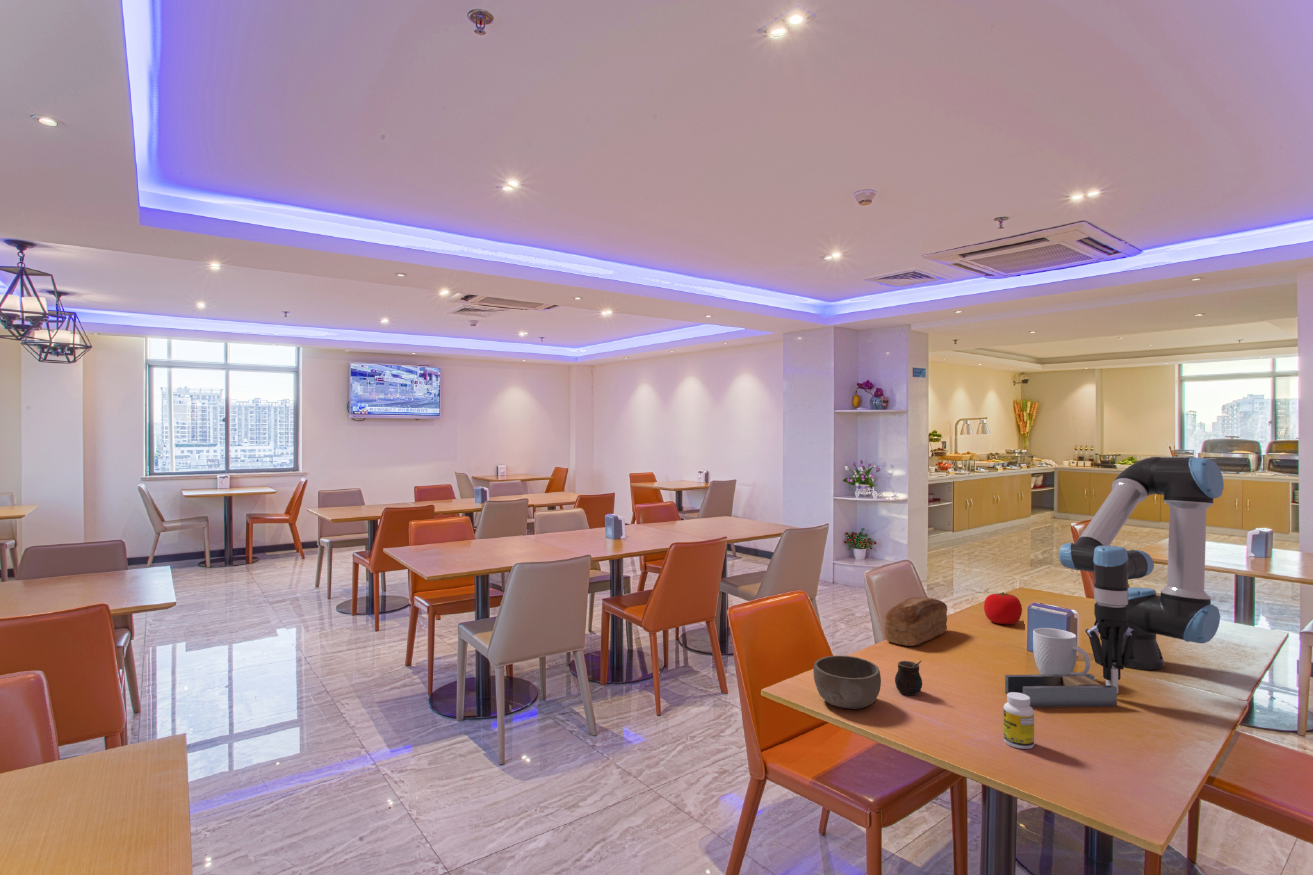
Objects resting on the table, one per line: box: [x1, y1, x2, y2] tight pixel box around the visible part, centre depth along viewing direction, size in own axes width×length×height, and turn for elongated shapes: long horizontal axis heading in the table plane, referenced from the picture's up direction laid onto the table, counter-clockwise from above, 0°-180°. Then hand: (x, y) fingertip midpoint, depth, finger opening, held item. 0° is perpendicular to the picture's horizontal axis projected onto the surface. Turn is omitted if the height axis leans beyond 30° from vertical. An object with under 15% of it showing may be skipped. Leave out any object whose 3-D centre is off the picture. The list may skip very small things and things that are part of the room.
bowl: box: [812, 655, 882, 710], centre depth 176 cm, size 17×18×10 cm
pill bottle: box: [1003, 692, 1035, 750], centre depth 151 cm, size 6×6×11 cm
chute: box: [1004, 673, 1118, 709], centre depth 177 cm, size 24×10×5 cm, turn 91°
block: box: [1063, 676, 1101, 686], centre depth 177 cm, size 6×6×4 cm
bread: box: [884, 596, 948, 647], centre depth 234 cm, size 12×31×14 cm, turn 133°
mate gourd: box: [894, 660, 923, 696], centre depth 182 cm, size 7×8×10 cm
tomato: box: [983, 592, 1023, 626], centre depth 251 cm, size 13×14×12 cm
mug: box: [1032, 627, 1091, 675], centre depth 192 cm, size 15×11×13 cm
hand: (1111, 691), depth 177 cm, fingers closed
